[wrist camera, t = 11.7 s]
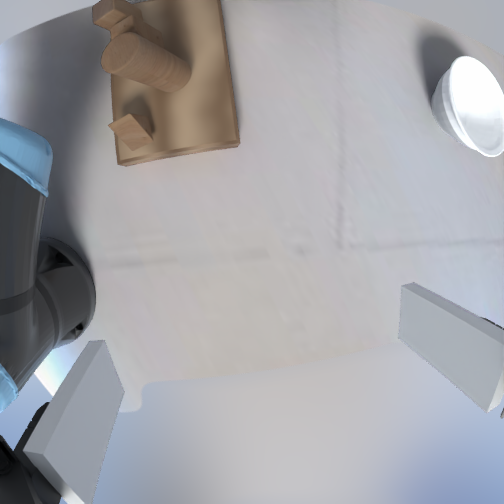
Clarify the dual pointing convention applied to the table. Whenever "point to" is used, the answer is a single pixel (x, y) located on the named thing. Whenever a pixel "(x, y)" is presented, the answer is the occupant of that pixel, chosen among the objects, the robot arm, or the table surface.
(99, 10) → the wooden block set
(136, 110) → the plinth
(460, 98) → the bowl
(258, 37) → the table surface
